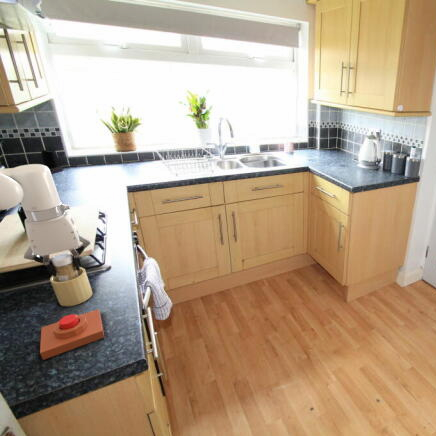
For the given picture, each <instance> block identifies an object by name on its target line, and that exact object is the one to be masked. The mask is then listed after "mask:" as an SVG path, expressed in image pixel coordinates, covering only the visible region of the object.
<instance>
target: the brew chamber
mask: <svg viewBox="0 0 436 436" xmlns="http://www.w3.org/2000/svg"><path fill="white" fill-rule="evenodd" d="M75 268H76V267H75ZM77 273H78V277H77V278H75V279H72V280H69V281H65V282H60V280H59V278H58V275H57V276H55V277H53V275H51V277H50V278H49V281H50V285H51V286H52V289H53V291H54V294H55V297H56V300H57V302H58V304H59V305H60V306H62V307H73V306H77V305H80V304H82V303H84V302H86V301H88V300H89V299H90V298H91V297H92V296H93V289H92V286H91V283H90V280H89V277H88V273H87V271H86V269H85V268H84V267H82V266H80V270H77Z"/></svg>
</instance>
